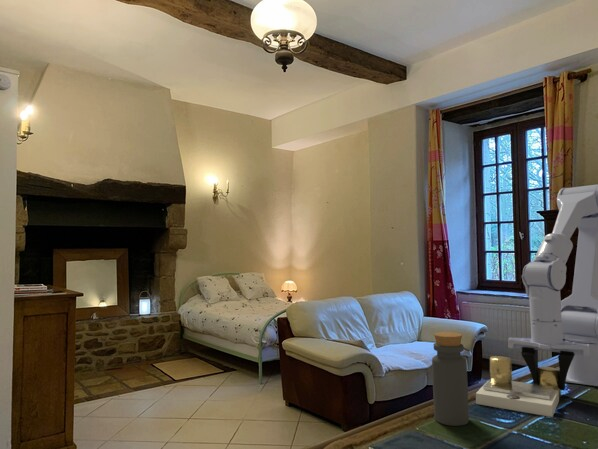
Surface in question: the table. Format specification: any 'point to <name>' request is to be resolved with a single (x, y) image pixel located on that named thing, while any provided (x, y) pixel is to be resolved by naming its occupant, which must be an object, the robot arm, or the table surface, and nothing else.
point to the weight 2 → (549, 377)
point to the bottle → (450, 380)
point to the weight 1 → (501, 371)
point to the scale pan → (523, 389)
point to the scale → (518, 402)
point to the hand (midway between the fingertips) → (549, 387)
